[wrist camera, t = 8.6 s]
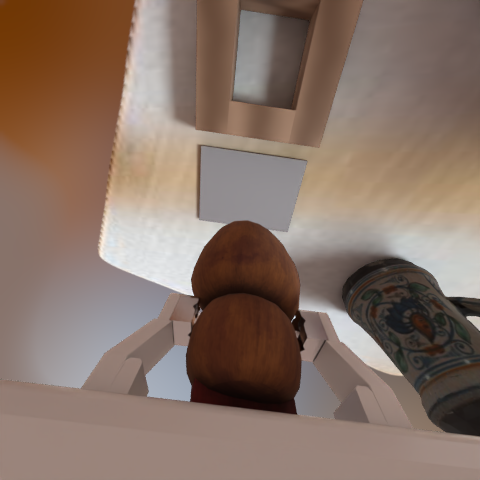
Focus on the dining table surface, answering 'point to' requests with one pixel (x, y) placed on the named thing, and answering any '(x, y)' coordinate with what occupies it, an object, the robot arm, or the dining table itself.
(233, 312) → the wooden figurine
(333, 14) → the walnut socket block
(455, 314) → the beer stein
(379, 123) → the dining table surface
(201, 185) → the slate mat
